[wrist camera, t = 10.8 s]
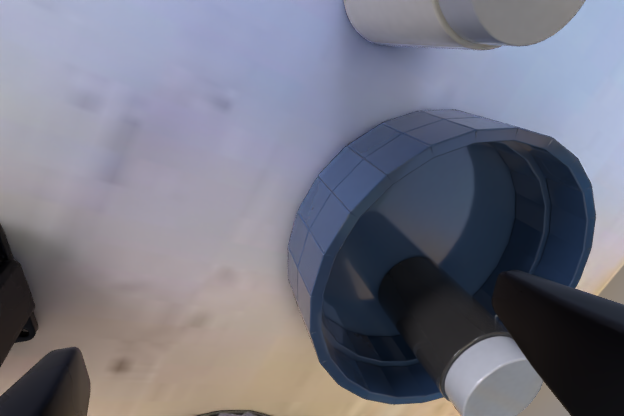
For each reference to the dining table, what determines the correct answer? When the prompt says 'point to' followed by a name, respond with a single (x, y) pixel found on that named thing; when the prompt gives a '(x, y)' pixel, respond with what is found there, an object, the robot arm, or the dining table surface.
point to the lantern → (234, 413)
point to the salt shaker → (459, 22)
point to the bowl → (429, 233)
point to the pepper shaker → (457, 340)
